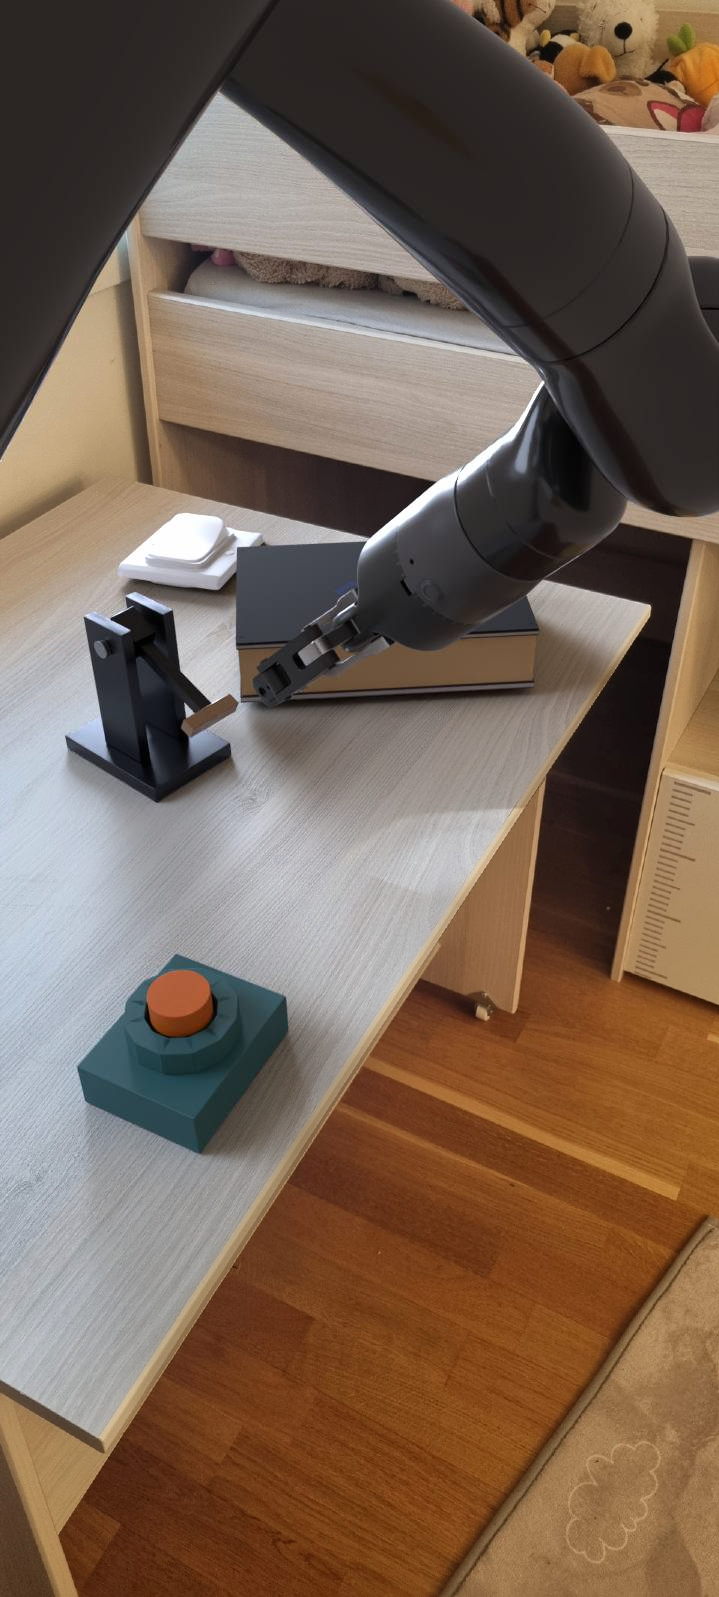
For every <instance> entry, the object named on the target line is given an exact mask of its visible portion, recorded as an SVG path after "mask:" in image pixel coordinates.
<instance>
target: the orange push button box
mask: <svg viewBox="0 0 719 1597" xmlns="http://www.w3.org/2000/svg"><path fill="white" fill-rule="evenodd" d="M178 970H187V971H193V972H196V973H198V974H200V975H202V976H203V977H204V978H205V979H206V980H207V981H208V983H209V985H210V989H211V997H212V1005H213V1015H212V1018H211V1020H210V1022H209V1023H208V1025H207V1026H206V1027H205V1028H204V1029H202V1030H201V1031H199V1032H198V1033H196V1034H193V1035H191V1036H187V1037H180V1038H175V1037H169V1036H166V1035H163V1034H161V1033H160V1032H158V1031H157V1030H156V1029H155V1028H154V1027H153V1025H152V1023H151V1020H150V1014H149V1009H148V1003H147V992H148V990H149V987H150V986H151V984H152V983H153V982H154V981H155V980H156V979H157V978H159V977H160V976H162V975H164V974H166V973H169V972H172V971H178ZM289 1031H290V1030H289V1016H288V1003H287V996H286V995H284V994H281V993H279V992H276V991H273V990H271V989H268V988H266V987H264V986H261V985H258V984H256V983H253V982H251V981H248V980H245V979H243V978H240V977H238V976H235V975H233V974H230V973H227V972H225V971H222V970H220V969H217V968H214V967H211V966H209V965H207V964H204V963H201V962H199V961H196V960H194V959H191V958H188V957H186V956H183V955H181V954H178V953H175V954H174V955H173V956H172V957H171V958H170V959H169V961H168V962H167V963H166V964H165V965H164V967H163V968H162V969H161V970H160V971H159V972H158V974H156V975H154V976H151V977H149V978H147V979H145V980H143V981H142V982H141V983H140V985H138V986H137V987H136V989H135V990H134V992H133V993H131V994H130V996H129V997H128V998H127V999H126V1001H125V1006H124V1012H123V1013H122V1014H121V1016H120V1017H119V1018H117V1020H116V1021H115V1022H114V1023H113V1024H112V1025H111V1027H110V1028H109V1029H108V1030H107V1032H105V1034H104V1035H103V1036H102V1037H101V1038H100V1039H99V1041H98V1042H97V1043H96V1044H95V1045H94V1046H93V1047H92V1049H91V1050H90V1051H88V1053H87V1054H86V1056H84V1057H83V1059H82V1060H81V1061H80V1062H79V1063H78V1065H77V1066H76V1070H77V1074H78V1077H79V1083H80V1086H81V1090H82V1093H83V1098H84V1101H85V1102H86V1103H87V1104H90V1105H92V1106H93V1107H96V1108H98V1109H100V1110H103V1111H105V1112H107V1113H109V1114H111V1115H113V1116H116V1117H118V1118H120V1119H122V1120H124V1121H127V1122H129V1123H131V1124H133V1125H135V1126H138V1127H140V1128H141V1129H144V1130H146V1131H148V1132H151V1133H152V1134H155V1135H156V1136H159V1137H161V1138H164V1139H166V1140H168V1141H170V1142H172V1143H175V1144H177V1145H179V1146H181V1147H183V1148H185V1149H188V1150H190V1151H192V1152H194V1153H196V1154H198V1155H199V1154H201V1153H202V1152H203V1150H204V1149H205V1147H206V1146H207V1145H208V1144H209V1142H210V1140H211V1139H212V1138H213V1136H214V1135H215V1134H216V1133H217V1131H218V1129H219V1128H220V1127H221V1125H223V1123H224V1121H225V1120H226V1119H227V1117H228V1116H229V1114H230V1113H231V1112H232V1110H233V1109H234V1107H235V1106H236V1105H237V1103H238V1102H239V1101H240V1099H241V1097H242V1096H243V1095H244V1094H245V1092H246V1091H247V1090H248V1088H249V1087H250V1086H251V1084H252V1083H253V1081H254V1080H255V1079H256V1078H257V1076H258V1074H259V1073H260V1072H261V1070H262V1069H263V1067H264V1066H266V1063H267V1062H268V1061H269V1060H270V1058H271V1056H272V1055H273V1054H274V1052H275V1051H276V1049H277V1048H278V1047H279V1046H280V1044H281V1043H282V1041H283V1040H284V1038H285V1037H286V1036H287V1035H288V1033H289Z"/></svg>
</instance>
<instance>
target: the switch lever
mask: <svg viewBox="0 0 719 1597" xmlns="http://www.w3.org/2000/svg"><path fill="white" fill-rule="evenodd" d="M109 620H111V621H113V622H115V623H117V624H119V625H121V626H123V627H125V628H127V629H129V630H131V631H132V637H133V644H134V651H135V657H136V658H138V657H141V658H142V659H143V660H144V661H145V662H146V663H147V664H148V665H149V666H150V667H151V668H152V669H153V670H154V672H155V673H156V674H157V675H158V676H159V677H160V678H161V679H162V680H163V681H164V682H165V683H166V684H167V685H168V686H169V687H170V688H171V689H172V690H173V691H174V692H175V693H176V694H177V695H178V696H179V697H180V698H181V700H182V701H183V702H184V703H185V706H187V707H188V708H189V709H190V710H191V711H192V712H193V713H192V714H191V715H189V716H188V717H186V719H184V721H183V724H182V727H181V729H182V730H183V731H184V732H185V733H186V734H187V735H188V736H189V737H190V738H192V737H193V736H195V735H197V734H198V733H200V732H202V731H203V730H205V729H206V730H207V729H208V728H210V727H212V726H214V725H216V724H217V723H218V722H220V721H222V720H224V719H225V718H227V717H229V716H230V715H232V714H234V713H235V712H236V711H237V709H238V706H239V704H240V703H239V701H238V700H237V699H236V698H235V697H234V695H232V694H231V693H227V694H226V695H224V696H222V697H220V698H219V699H217V700H215V701H214V702H211V701H210V700H209V698H207V696H206V695H205V694H204V693H203V692H202V691H201V690H200V689H198V687H197V686H196V685H195V684H194V683H193V682H192V681H191V680H190V679H189V678H188V677H187V676H186V675H185V674H184V673H183V672H182V671H181V669H180V670H179V669H178V668H177V667H176V666H175V665H174V664H173V663H172V662H171V661H170V660H169V659H168V658H167V657H166V656H165V655H164V653H163V652H162V651H161V650H160V649H159V648H158V647H157V646H156V645H155V644H154V639H155V635H156V629H155V628H154V627H153V626H152V625H151V624H150V623H149V622H148V621H147V620H146V619H145V618H144V617H143V616H142V615H141V614H140V613H139V612H138V611H137V610H136V609H135V608H134V607H130V608H128V609H127V608H126V609H125V610H122V611H120V612H118V613H117V614H114V615H112V616H111V617H110V619H109Z"/></svg>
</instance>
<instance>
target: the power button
mask: <svg viewBox="0 0 719 1597" xmlns="http://www.w3.org/2000/svg"><path fill="white" fill-rule="evenodd" d="M147 1003H148V1009H149V1014H150V1020H151V1023H152V1025H153V1027H154V1028H155V1029H156V1030H157V1031H158V1032H160V1033H161V1034H163V1035H166V1036H169V1037H175V1038H180V1037H187V1036H191V1035H193V1034H196V1033H198V1032H199V1031H201V1030H202V1029H204V1028H205V1027H206V1026H207V1025H208V1023H209V1022H210V1020H211V1018H212V1015H213V1005H212V997H211V989H210V985H209V983H208V981H207V980H206V979H205V978H204V977H203V976H202V975H200V974H198V973H196V972H193V971H187V970H178V971H172V972H169V973H166V974H164V975H162V976H160V977H159V978H157V979H156V980H155V981H154V982H153V983H152V984H151V986H150V987H149V990H148V992H147Z"/></svg>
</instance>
